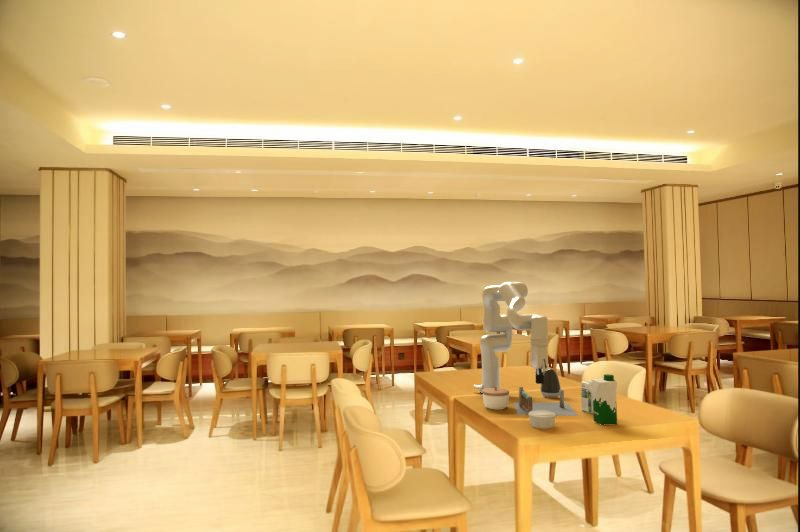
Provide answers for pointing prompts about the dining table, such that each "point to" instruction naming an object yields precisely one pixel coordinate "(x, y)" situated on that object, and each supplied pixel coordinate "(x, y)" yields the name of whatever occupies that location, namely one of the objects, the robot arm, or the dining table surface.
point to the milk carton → (605, 400)
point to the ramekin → (542, 419)
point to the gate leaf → (525, 401)
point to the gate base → (548, 406)
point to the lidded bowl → (495, 398)
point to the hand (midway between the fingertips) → (539, 383)
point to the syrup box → (587, 396)
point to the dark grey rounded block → (550, 384)
